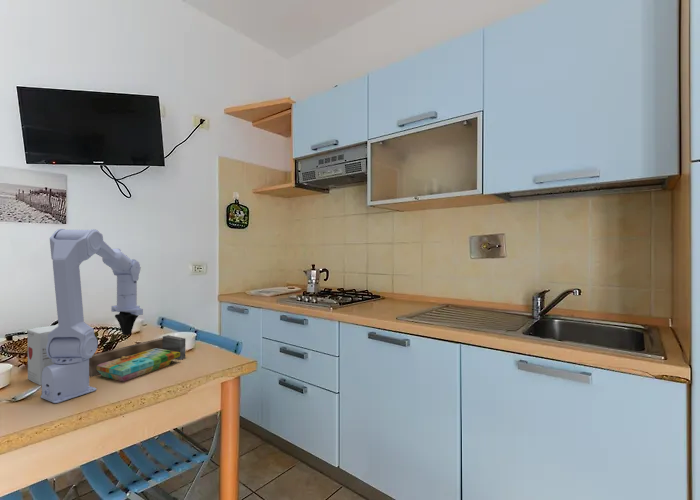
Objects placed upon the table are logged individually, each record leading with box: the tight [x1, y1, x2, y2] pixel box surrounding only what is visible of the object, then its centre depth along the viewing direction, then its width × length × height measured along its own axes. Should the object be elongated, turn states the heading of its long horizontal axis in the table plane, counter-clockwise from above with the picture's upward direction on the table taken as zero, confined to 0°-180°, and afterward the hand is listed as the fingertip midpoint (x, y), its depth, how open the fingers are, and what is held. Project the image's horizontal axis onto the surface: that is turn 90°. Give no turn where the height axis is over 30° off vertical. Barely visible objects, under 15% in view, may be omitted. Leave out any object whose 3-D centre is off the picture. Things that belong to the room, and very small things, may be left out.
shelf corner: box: [89, 334, 186, 378], centre depth 115 cm, size 25×12×7 cm, turn 153°
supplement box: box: [27, 324, 58, 386], centre depth 105 cm, size 9×9×15 cm
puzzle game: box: [96, 348, 180, 382], centre depth 113 cm, size 12×5×20 cm
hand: (126, 334), depth 120 cm, fingers closed
